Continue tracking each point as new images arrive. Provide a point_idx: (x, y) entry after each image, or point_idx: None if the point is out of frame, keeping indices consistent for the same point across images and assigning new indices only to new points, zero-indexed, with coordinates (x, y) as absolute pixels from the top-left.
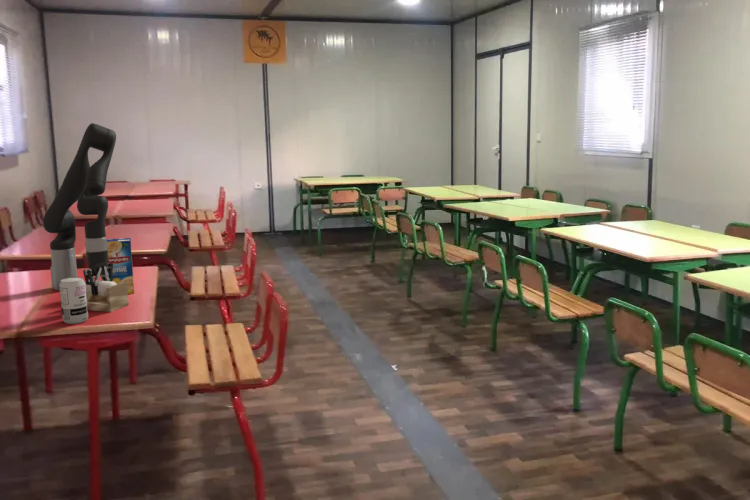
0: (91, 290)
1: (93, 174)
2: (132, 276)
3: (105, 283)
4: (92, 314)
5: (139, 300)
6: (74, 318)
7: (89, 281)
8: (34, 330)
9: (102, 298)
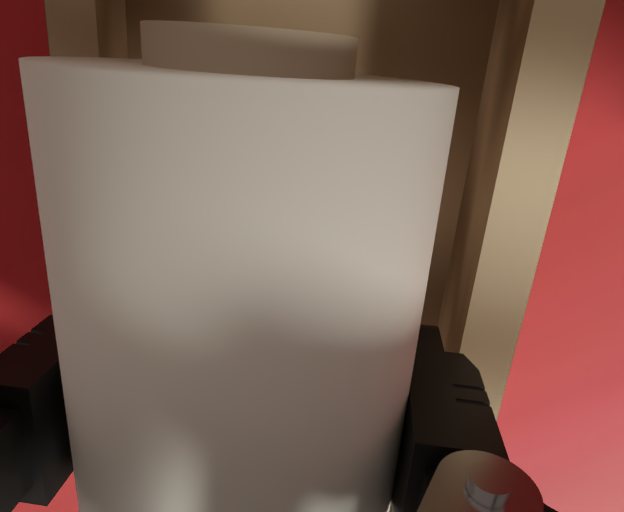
0: (20, 342)
1: None
2: None
3: None
4: (21, 322)
5: (620, 505)
6: None
7: (89, 244)
8: None
9: (470, 185)
